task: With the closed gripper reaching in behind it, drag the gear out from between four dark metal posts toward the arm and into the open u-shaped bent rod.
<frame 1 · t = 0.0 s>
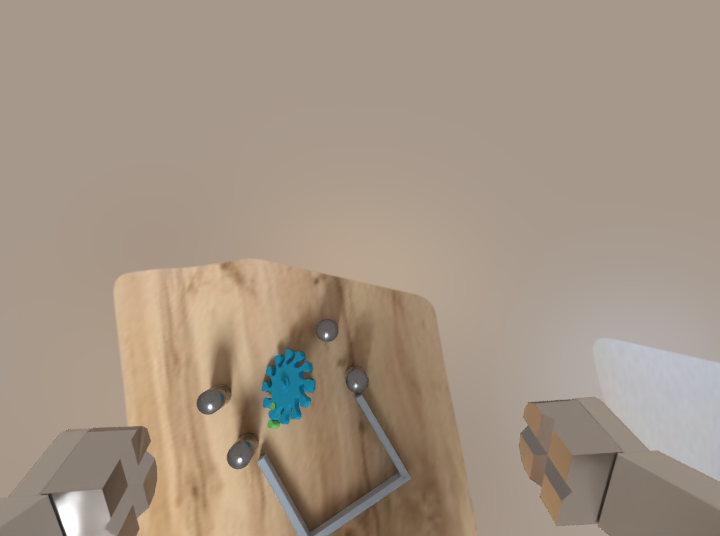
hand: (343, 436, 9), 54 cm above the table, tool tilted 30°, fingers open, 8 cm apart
spacer posts: (288, 385, 61), on the table
gear: (289, 385, 62), on the table
u-shaped bent rod: (334, 464, 60), on the table
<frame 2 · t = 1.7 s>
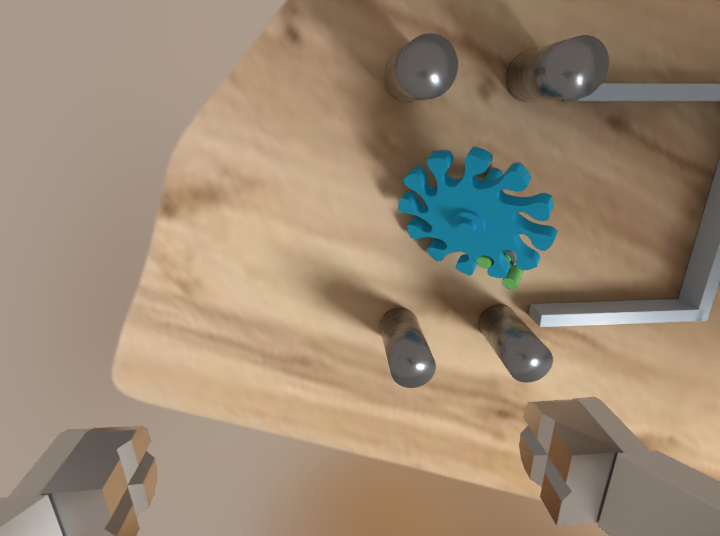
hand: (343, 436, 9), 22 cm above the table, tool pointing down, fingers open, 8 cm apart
spacer posts: (457, 212, 30), on the table
gear: (458, 210, 31), on the table
u-shaped bent rod: (628, 209, 31), on the table
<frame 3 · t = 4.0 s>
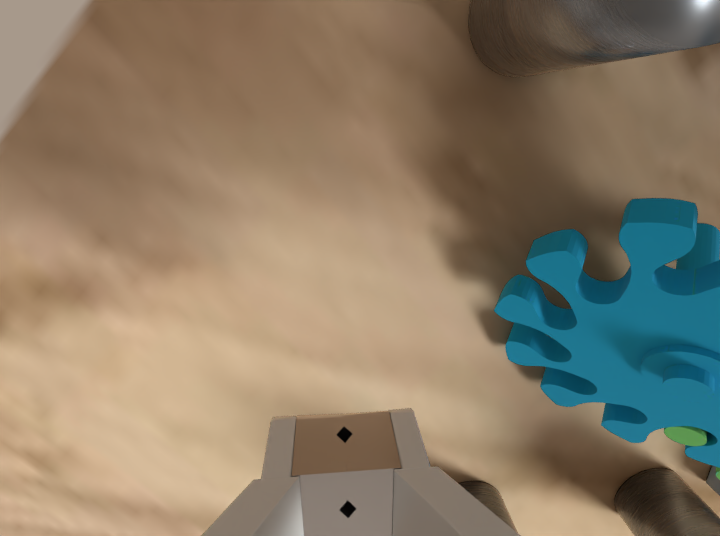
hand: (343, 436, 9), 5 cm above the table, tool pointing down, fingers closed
spacer posts: (600, 312, 15), on the table
gear: (604, 304, 15), on the table
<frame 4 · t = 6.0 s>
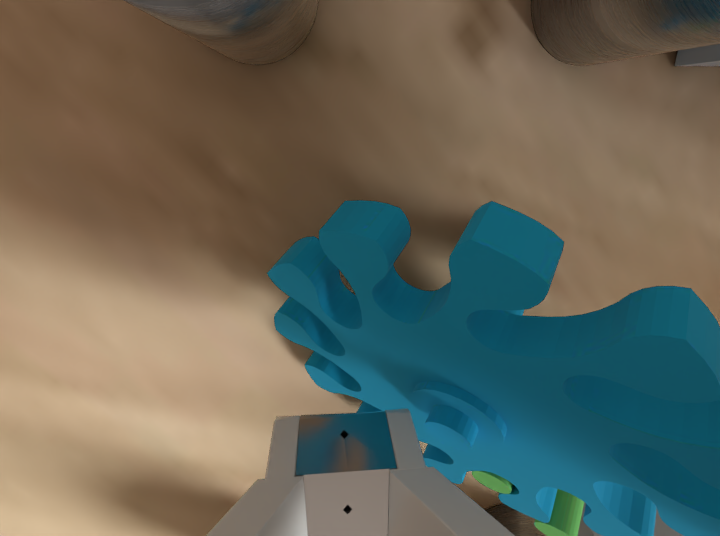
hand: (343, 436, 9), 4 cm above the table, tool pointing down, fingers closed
spacer posts: (411, 335, 13), on the table
gear: (433, 322, 13), on the table, touching gripper
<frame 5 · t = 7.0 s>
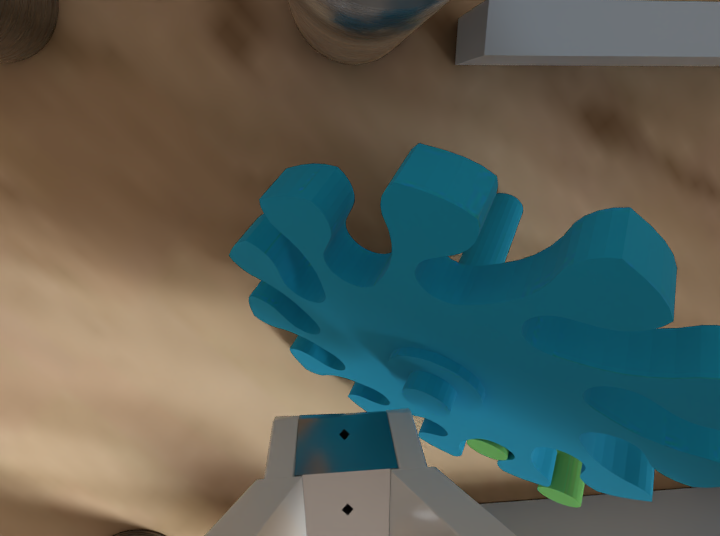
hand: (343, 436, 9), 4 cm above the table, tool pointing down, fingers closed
spacer posts: (222, 341, 12), on the table
gear: (418, 295, 13), on the table, touching gripper
u-shaped bent rod: (634, 323, 13), on the table
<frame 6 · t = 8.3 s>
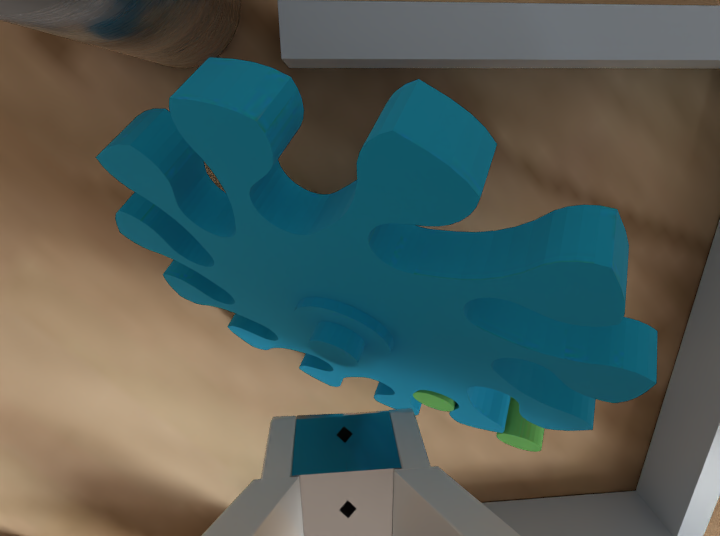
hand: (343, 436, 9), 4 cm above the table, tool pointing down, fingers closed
spacer posts: (82, 349, 12), on the table
gear: (358, 256, 12), on the table, touching gripper
u-shaped bent rod: (511, 329, 13), on the table
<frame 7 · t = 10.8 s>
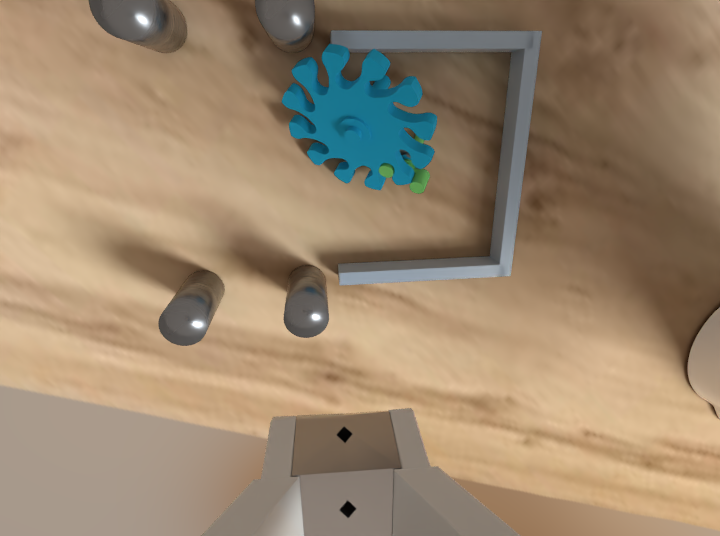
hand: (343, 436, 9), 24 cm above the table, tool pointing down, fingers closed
spacer posts: (243, 170, 30), on the table
gear: (358, 128, 30), on the table
u-shaped bent rod: (421, 165, 31), on the table
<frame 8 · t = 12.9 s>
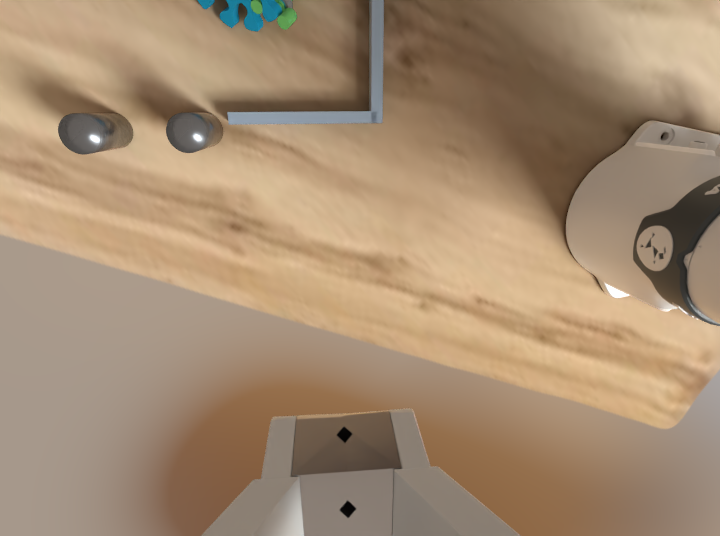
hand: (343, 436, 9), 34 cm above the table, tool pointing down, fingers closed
spacer posts: (142, 16, 35), on the table
u-shaped bent rod: (299, 18, 36), on the table
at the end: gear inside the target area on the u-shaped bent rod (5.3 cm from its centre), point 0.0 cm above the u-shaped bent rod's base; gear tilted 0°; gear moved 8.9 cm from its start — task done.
